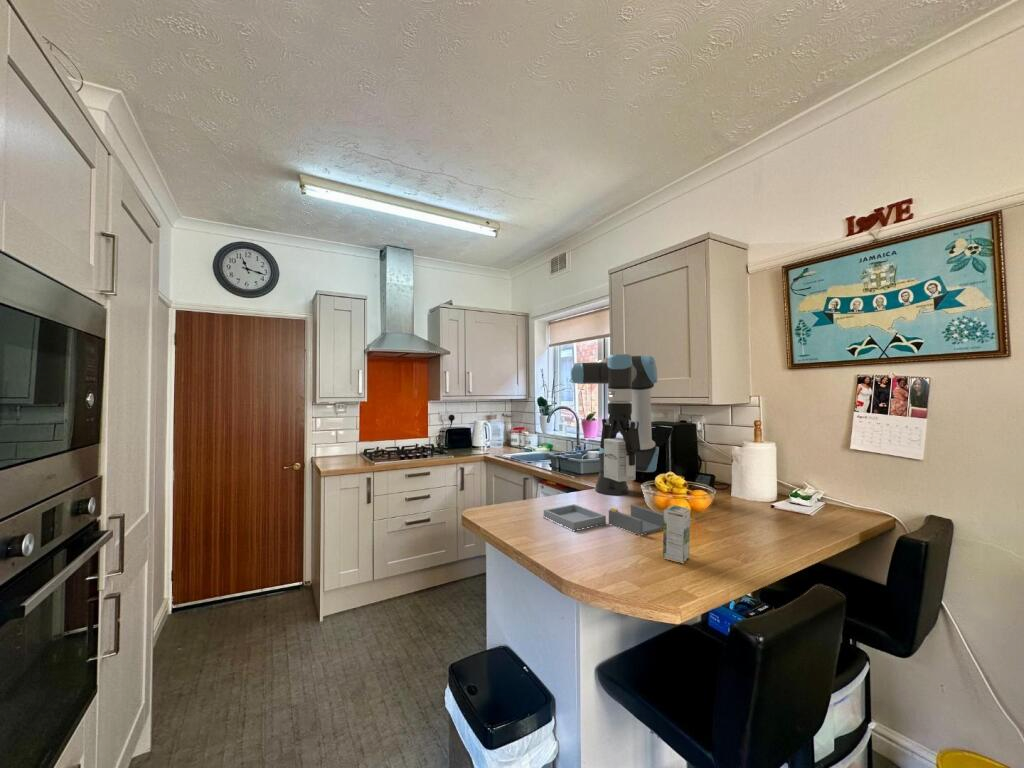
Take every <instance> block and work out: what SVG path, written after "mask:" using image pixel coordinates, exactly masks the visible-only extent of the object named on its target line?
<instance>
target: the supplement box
mask: <svg viewBox="0 0 1024 768" xmlns="http://www.w3.org/2000/svg"><path fill="white" fill-rule="evenodd" d="M626 454H628V453H627V449H626V446H625V441H624V439H623V437H616V438H613V439H604V477H606V478H609V479H612V480H615V481H618V482H621V481H626V482H628V481H634V480H636V473H637V471H636V455H635V465H634V475H633V476H626Z"/></svg>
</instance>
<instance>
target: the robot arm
mask: <svg viewBox="0 0 1024 768" xmlns="http://www.w3.org/2000/svg"><path fill="white" fill-rule="evenodd" d="M570 378H571V382H572V383H573V384H577V385H579V384H580V385H583V384H584V385H587V384H589V385H591V384H592V385H593V384H595V385H596V384H601V385H603V384H606V385H607V401H608V404H607V414H608V415H609V417H608V418H602V419H601V425H602V428H601V437H600V445H599V452H598V455H599V456H598V457H599V458H598V459H599V460H598V461H599V462H598V463H599V467H598V468H599V471H598V473H599V475H598V477H597V481H596V484H595V492H597V493H599V494H603V495H609V496H620V495H621V496H623V495H626V494H629V486H628V481H621V482H618V481H615V480H612V479H609V478H606V477H604V439H613V438H617V435H618V433H619V432H620V435H622V436H621V437H622V438H623V439H624V441H625V446H626V449H627V453H628V454H626V476H633V475H634V465H635V455H636V472H644V473H654V472H656V470H657V467H658V466H657V464H658V458H659V454H660V453H659V452H660V447H659V446H656V441H654V440H653V438H652V437H653V435H652V434H653V433H652V432H653V431H652V407H651V405H652V403H651V402H652V401H651V390H652V389H653V388H654V387H655V384H656V383H658V368H657V364H656V360H655V358H654V357H653V356H651V355H644V354H643V355H631V354H627V353H619V354H618V353H615V354H610V355H609V356H608V357H607V358H603V359H599V360H598V361H591V362H590V361H589V362H581V361H580V362H575V363H573V364H572V365H571V369H570Z"/></svg>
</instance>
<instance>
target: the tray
mask: <svg viewBox="0 0 1024 768" xmlns="http://www.w3.org/2000/svg"><path fill="white" fill-rule="evenodd" d="M544 516H545V517H547V518H549V519H551V520H553V521H555V522H557V523H559V524H562V525H563V526H566V527H568V528H570V529H572V530H577V529H582V528H587V527H591V526H595V527H597V526H596V525H600V526H602V525H601V524H604V525H606V523H607V522H606V520H607V518H606V517H607V515H606V514H602V513H599V512H597V511H593V510H592V509H588V508H586V507H583V506H580V505H577V504H574V503H573V504H569V505H564V506H563V505H562V506H558V507H553V508H547V509H543V517H544ZM591 528H592V527H591ZM587 529H588V528H587Z"/></svg>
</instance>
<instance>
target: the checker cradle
mask: <svg viewBox="0 0 1024 768" xmlns="http://www.w3.org/2000/svg"><path fill="white" fill-rule="evenodd" d="M610 524H612V525H611V526H613V525H615V526H617V527H616V528H618V527H620V528H623V529H625V530H628V531H631V532H633V533H636V534H639V535H641V534H645V533H649V534H651V533H650V532H652V533H655V532H654V531H656V532H658V530H660V531H662V530H661V529H664V513H662V512H658V511H655V510H652V509H649V508H646V507H643V506H640V505H636V504H631V505H630V515H629V514H627V513H624V512H621V511H619V509H618V508H614V507H610V509H608V525H610ZM615 526H614V527H615ZM620 528H619V529H620ZM623 529H622V530H623ZM625 530H624V531H625ZM628 531H627V532H628ZM631 532H630V533H631ZM633 533H632V534H633ZM636 534H635V535H636ZM645 535H646V534H645Z"/></svg>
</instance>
